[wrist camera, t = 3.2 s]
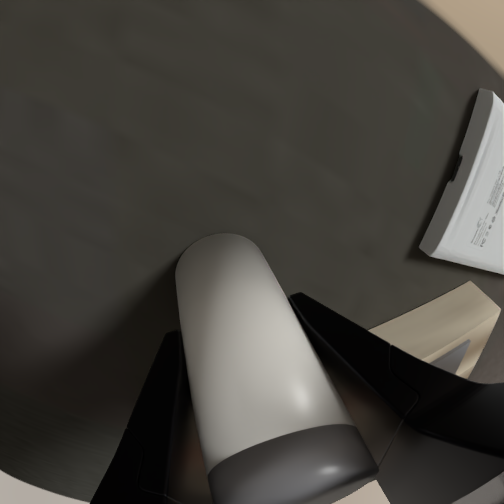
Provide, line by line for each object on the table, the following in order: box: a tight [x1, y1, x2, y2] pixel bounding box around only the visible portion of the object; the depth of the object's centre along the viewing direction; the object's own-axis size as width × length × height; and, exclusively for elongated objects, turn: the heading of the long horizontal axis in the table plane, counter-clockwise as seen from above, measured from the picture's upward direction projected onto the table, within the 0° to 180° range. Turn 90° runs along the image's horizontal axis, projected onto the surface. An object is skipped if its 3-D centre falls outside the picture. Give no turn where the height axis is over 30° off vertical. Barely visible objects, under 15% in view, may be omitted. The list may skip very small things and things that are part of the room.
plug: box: [175, 233, 379, 504], centre depth 8 cm, size 3×3×8 cm
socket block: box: [368, 281, 501, 379], centre depth 17 cm, size 12×18×3 cm, turn 101°
